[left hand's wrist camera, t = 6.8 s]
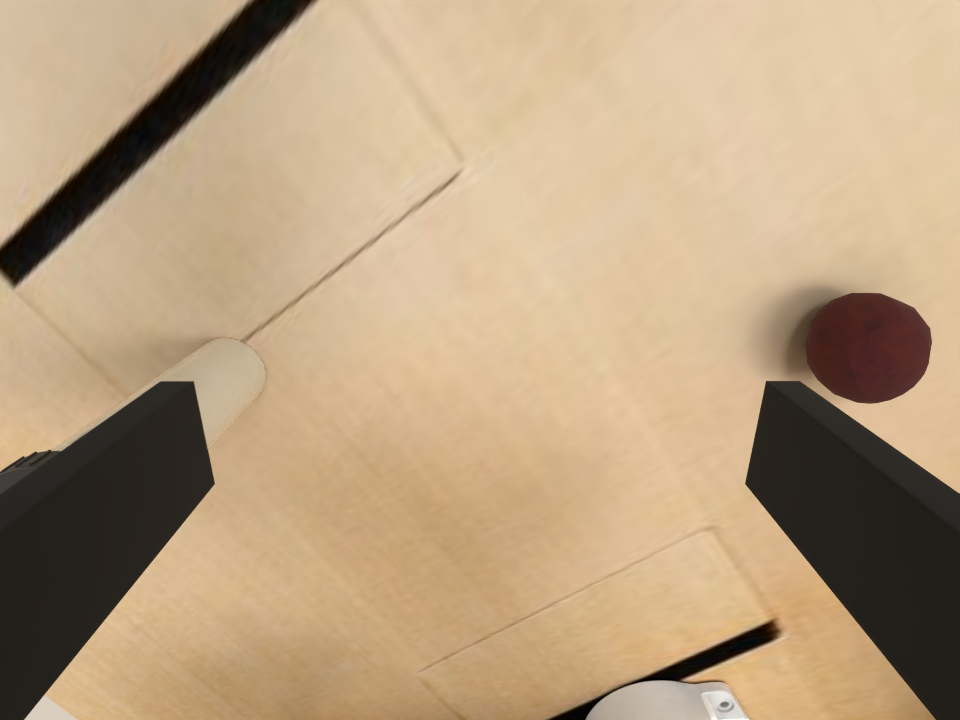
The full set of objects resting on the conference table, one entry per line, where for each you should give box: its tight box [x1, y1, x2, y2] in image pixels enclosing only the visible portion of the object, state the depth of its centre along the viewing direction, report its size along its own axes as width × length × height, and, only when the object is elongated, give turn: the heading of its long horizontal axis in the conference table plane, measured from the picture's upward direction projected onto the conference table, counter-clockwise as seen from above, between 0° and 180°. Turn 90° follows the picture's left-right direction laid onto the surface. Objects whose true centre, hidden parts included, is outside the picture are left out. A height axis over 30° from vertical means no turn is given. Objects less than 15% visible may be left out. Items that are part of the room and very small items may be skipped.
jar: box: [51, 338, 266, 451], centre depth 33 cm, size 6×6×19 cm
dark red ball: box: [806, 293, 932, 403], centre depth 38 cm, size 7×8×7 cm
